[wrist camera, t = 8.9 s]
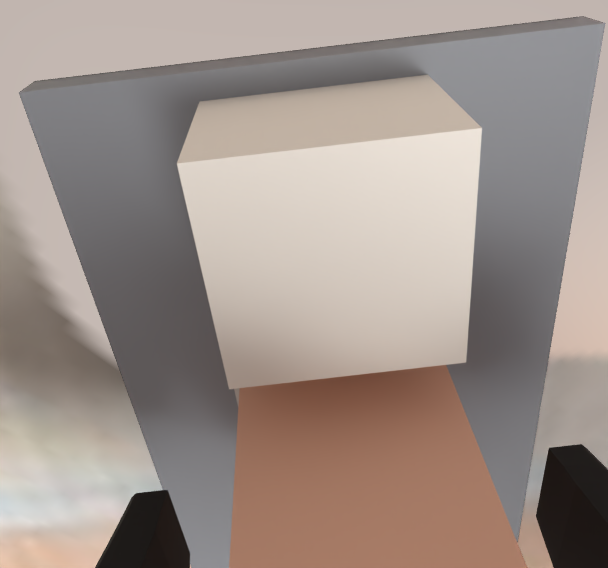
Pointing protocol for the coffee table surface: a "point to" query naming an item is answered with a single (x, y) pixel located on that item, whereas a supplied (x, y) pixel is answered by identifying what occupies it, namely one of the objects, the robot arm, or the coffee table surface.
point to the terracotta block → (364, 477)
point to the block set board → (167, 276)
